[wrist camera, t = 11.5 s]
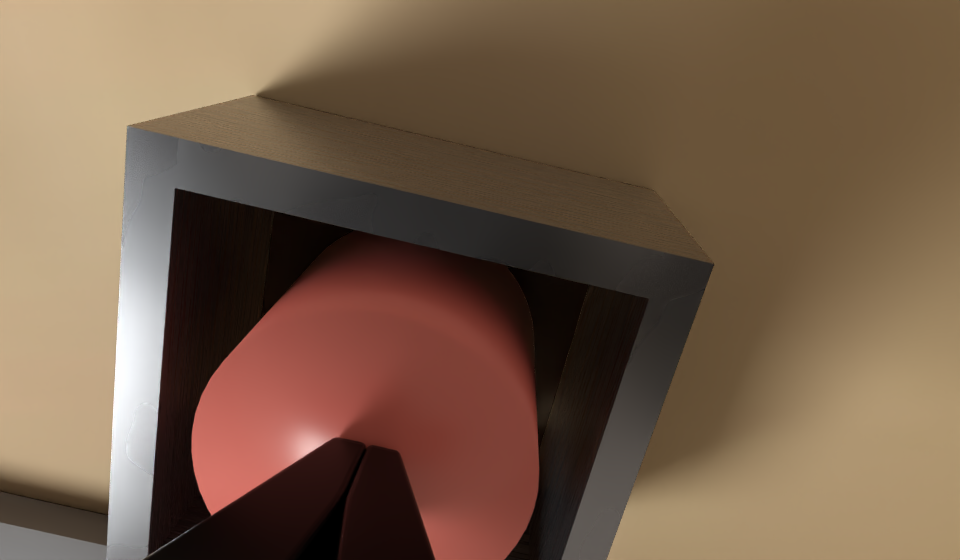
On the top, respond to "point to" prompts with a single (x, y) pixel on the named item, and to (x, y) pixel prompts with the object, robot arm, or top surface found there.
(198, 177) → the button housing
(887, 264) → the top surface
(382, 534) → the robot arm
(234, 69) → the top surface
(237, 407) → the button
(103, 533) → the drawing board
